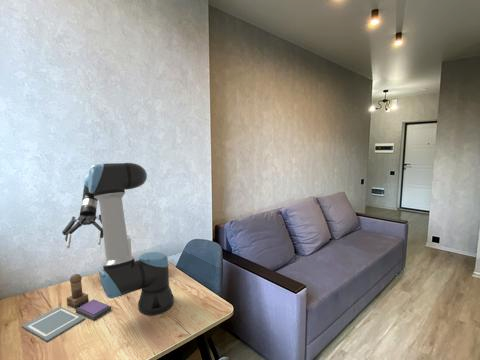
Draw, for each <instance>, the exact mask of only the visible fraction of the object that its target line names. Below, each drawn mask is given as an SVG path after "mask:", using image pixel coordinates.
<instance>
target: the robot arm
mask: <svg viewBox="0 0 480 360" xmlns="http://www.w3.org/2000/svg"><path fill="white" fill-rule="evenodd" d="M147 176H148V175H147V171H146V170H145V168H144V167H143V166H141V165H140V164H137V163H133V162H124V163H123V162H119V163H118V162H115V163H110V162H109V163H99V164H98V163H97V164H92V166H90V168H89V172H88V173H87V174H86V175H85V177H84V181H83V184H84V185H83V191H82V199H81V204H80V211H79V216H77V217H76V216H71V217H72V218H71V220H70V221H69V223H67V225H66V226H65V228H63V230H62V231H61V233H62V234H63V236H65V238H64V240H65V242H66V245H65V247H66V248H67V249H70V248H71V247H70V246H71V242H72V236H73V235H72V234H73V233H74V232H76V231H77V230H78V229H79V228H81V227H82V226H91V225H93V226H94V227H95V228H96V229H97V230H98V235H97V236H98V237H97V244H98V245H99V246H100V245H101V242H102V241H101V240H102V239H103V244H104V243H105V250H104V252H105V251H106V258H107V260H106V262H104V263H103V264H102V266H103V269H101V270H100V271H99V273H98V274H99V279H100V283H101V287H102V289H103V292H104V294H105V296H106V298H108V299H115V298H119V297H122V296H124V295H128V294H131V293H134V292H135V291H139V290H141V292H140V296H139V299H138V301H137V302H138V303H137V304H138V305H137V306H138V311H139V312H140V314H142V315H146V316H152V315H153V316H154V315H155V316H156V315H160V314H163V313H165V312H167V311H168V310H169V309H171V308H172V307H173V305H174V303H175V299H174V298H175V297H174V294H173V292H172V290H171V287H170V280H169V278H170V277H169V276H170V274H169V273H170V272H169V259H168V256H167V255H166V254H164V253H162V252H156V251H155V252H154V251H153V252H151V251H150V252H144V253H142V254H141V255H140V256H139V259H138V260H135V257H134V256H133V255H132V256H131V255H130V254H129V247H128V240H127V235H128V234H127V233H128V232H127V227H126V221H125V219H126V218H125V212H124V211H125V210H124V205H123V197H124V196H125V194H126V192H125V191H126V190H132V189H136V188H140V187H141V186H143V185H144V184H145V183H146V181H147V178H148V177H147ZM98 204H99V211H100V214H99V215H97V208H98ZM96 220H98V221H99V222H100V223H101V225H99V224H98V223H97V222H96Z"/></svg>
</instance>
